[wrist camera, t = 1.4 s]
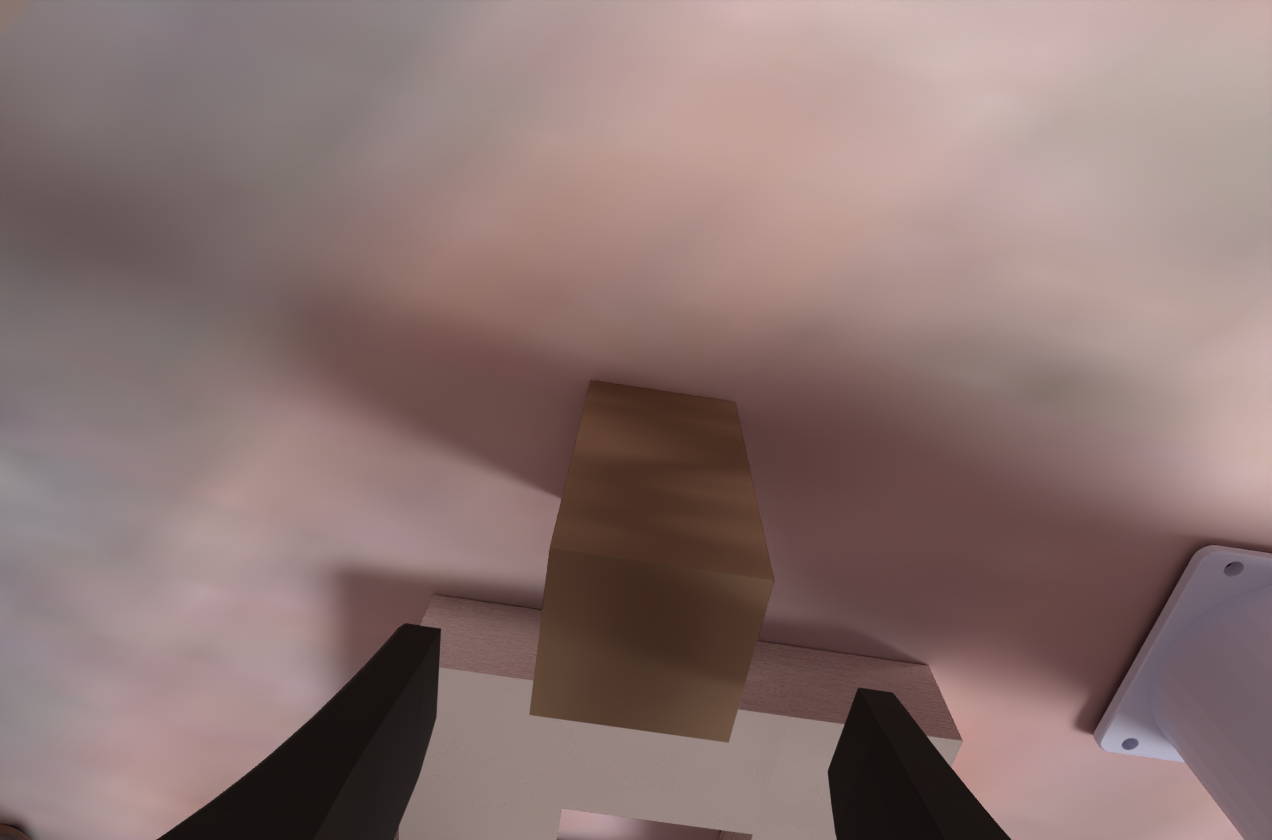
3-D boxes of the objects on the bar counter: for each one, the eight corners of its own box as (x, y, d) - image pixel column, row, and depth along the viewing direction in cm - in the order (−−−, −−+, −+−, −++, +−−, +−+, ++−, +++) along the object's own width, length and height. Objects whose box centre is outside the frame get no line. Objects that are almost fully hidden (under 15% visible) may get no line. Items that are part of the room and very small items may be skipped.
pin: (734, 402, 20) (773, 580, 13) (707, 524, 22) (728, 742, 15) (590, 380, 20) (549, 547, 13) (573, 504, 22) (529, 715, 15)
